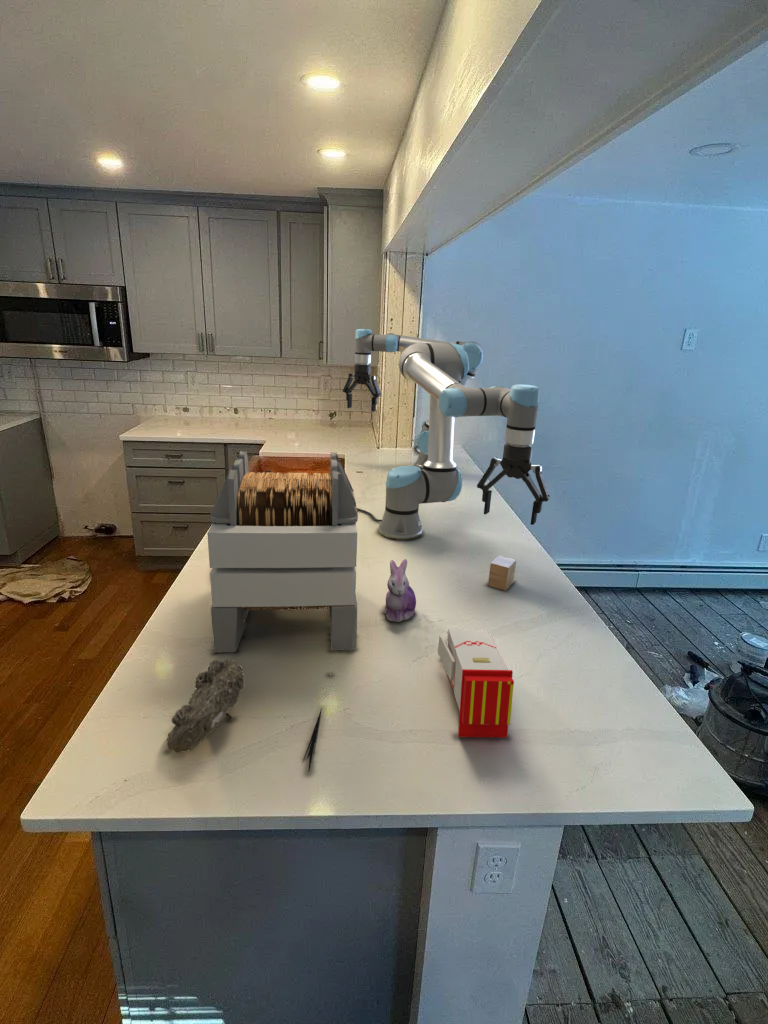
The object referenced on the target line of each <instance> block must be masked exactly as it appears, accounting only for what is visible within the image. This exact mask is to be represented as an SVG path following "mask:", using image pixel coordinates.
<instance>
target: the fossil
mask: <svg viewBox="0 0 768 1024" xmlns="http://www.w3.org/2000/svg"><path fill="white" fill-rule="evenodd" d="M243 670H244V669H243V667H242V665H240V664H237V662H236V661H235V660H234V659H232V658H231V659H227V658H226V659H224V660H223V661H222V660H217V659H212V660H211V661H210V663H209V665H208V666H207V671H201V672H199V673H198V674H197V675H196V676H195V680H194V684H195V685H194V687H195V689H194V690H193V693H192V694H191V697H190V698H189V700H188V704H184V705H182V706H181V707H180V709H177V710H176V711H175V713H174V715H173V716H172V718H171V723H172V724H173V727H172V730H171V731H170V732H168V734H167V738H166V741H167V742H166V745H167V749H168V750H169V751H173V752H174V753H176V754H178V753H182V752H188V751H189V752H192V751H193V750H195V748H196V747H197V746H199V744H200V743H201V742H203V741H204V740H205V739H206V738H207V737H208V736H209V735H210V734H211V733H212V732H214V730H215V729H217V727H218V726H219V724H220V722H221V721H222V720H223V719H224V718H225V716H226V717H227V719H229V720H233V717H232V715H230V714H229V710H230V709H231V708H234V706H235V704H236V703H237V702H238V699H239V697H240V695H241V693H242V691H243V690H245V689H244V688H245V675H244V671H243Z"/></svg>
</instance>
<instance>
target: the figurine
mask: <svg viewBox="0 0 768 1024" xmlns="http://www.w3.org/2000/svg"><path fill="white" fill-rule="evenodd" d="M407 567H408V559H406V558H404V559H403V560H402V561H401V563H400V565H399V566H398V565H397V563H396V562H395V561H394V560H393V559H391V560H390V561H389V570H390V576H389V578H388V579H387V589H388V591H387V592H386V594H385V595H386V596H385V607H384V615H385V616H386V620H387V621H391V622H395V623H400V622H402V621H406V620H409V619H410V618H411V617H413V616H414V615H415V610H416V606H417V597H416V593H415V591H414V590H413V587H411V586H410V582H409V579H408V577H407V574H406V571H407Z"/></svg>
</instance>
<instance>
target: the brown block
mask: <svg viewBox="0 0 768 1024" xmlns="http://www.w3.org/2000/svg"><path fill="white" fill-rule="evenodd" d="M516 566H517V559H514V558H510V557H507V556H503V555H498V556H496V558H495V559H493V560H492V561H491V562H490V563H489V573H488V581H487V582H488V583H487V586H488V587H491V588H494V589H497V590H502V591H504V592H507V590H508V589H509V588H510V587H511V586H512V585H513V583H514V582H515V575H516Z"/></svg>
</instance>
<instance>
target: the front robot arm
mask: <svg viewBox="0 0 768 1024" xmlns="http://www.w3.org/2000/svg"><path fill="white" fill-rule="evenodd" d="M451 343H452V342H451ZM451 343H416V344H413V345H411V346H409V347H408V348H406V349H405V350H404V351H403V352H401V354H400V357H399V360H398V368H399V372H400V374H401V376H402V377H403V378H404V379H406V380H407V382H410V383H412V384H417V385H418V386H419V387H420V388H422V389H423V390H424V391H425V392H427V393H428V394H429V419H428V420H429V442H428V459H427V461H426V462H425V463H424V464H423V469H420V468H419V467H416V465H400V466H396V467H393V468H391V469H390V470H389V471H388V472H387V475H386V480H385V481H386V482H385V504H384V505H385V507H384V508H385V509H384V513H383V515H382V519H378V518H376V517H375V515H374V514H373V513H371V512H369V511H367V510H364V509H361V508H358V507H356V508H357V512H362V513H364V514H367V515H369V516H370V517H371V519H372V520H373V521H375V522H378V523H379V525H378V533H379V534H380V535H381V536H382V537H385V538H387V539H389V540H395V541H410V540H415V539H418V538H420V537H421V536H422V535H423V525H422V520H421V518H420V515H419V507H420V506H419V505H420V504H421V505H422V504H433V503H447V502H451V501H455V500H457V498H458V497H459V495H460V494H461V491H462V488H463V477H462V473H461V471H460V469H458V468H457V463H456V462H454V460H453V454H454V438H455V437H454V435H455V434H454V433H455V418H461V417H462V418H463V417H491V416H492V417H494V416H499V417H504V418H506V426H505V427H506V428H505V436H504V442H505V443H504V445H503V453H502V459H500V458H498V457H497V456H494V457H493V458H491V459H490V463H489V466H488V467H487V469H486V470H485V472H484V474H483V475H482V477H481V478H480V479H479V481H478V483H477V484H476V488H477V489H480V490H482V496H481V497H482V498H481V501H482V502H483V503H484V507H483V515H487V514H489V513H490V510H491V503H492V502H491V501H492V495H493V494H492V493H493V490H492V489H491V488H492V487H493V486H494V485H496V484H497V483H499V481H500V480H501V479H502V478H504V476H507V478H514V479H516V480H520V479H521V480H522V481H523V483H525V486H526V487H527V488H528V490H529V491H530V493H531V494H532V496H533V498H534V499H535V500H534V501H533V503H532V511H531V516H530V517H531V518H530V525H531V526H533V525H535V524H536V523H537V517H538V514H540V513H541V512H542V509H543V503H544V502H548V501H549V500H551V494H550V491H549V489H548V486H547V482H546V479H545V477H544V474H543V465H542V464H541V463H540V464H532V457H533V450H534V449H533V444H534V440H535V434H536V426H537V418H538V413H539V412H538V411H539V405H540V393H541V390H540V388H539V387H538V386H536V385H531V384H523V383H522V384H521V383H520V384H518V383H517V384H513V385H512V386H511V387H510V388H507V387H505V386H501V385H500V386H498V385H493V386H490V387H467V386H466V387H465V386H463V385H462V384H461V380H463V379H464V378H465V377H466V376H467V373H468V370H469V361H468V356H467V353H466V352H465V349H464V348H463V347H462V346H461V345H458V344H451ZM499 465H500V467H501V468H502V470H501V471H500V472H499V473H498V474H497V475H496V476H495V477H494V478H492V479H491V480H490V481H489V482H488V483H487V481H488V480H489V478H490V477H491V475H492V474H493V472H494V470H496V468H497V467H498V466H499ZM531 470H532V472H533V474H534V475H535V476H534V477H535V480H536V483H537V484H536V483H535V482H534V480H533V478H532V476H531V474H530V473H529V472H530V471H531ZM264 472H265V473H267V472H272V471H271V470H268V469H267V470H265V471H264ZM537 485H538V487H537Z"/></svg>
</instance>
